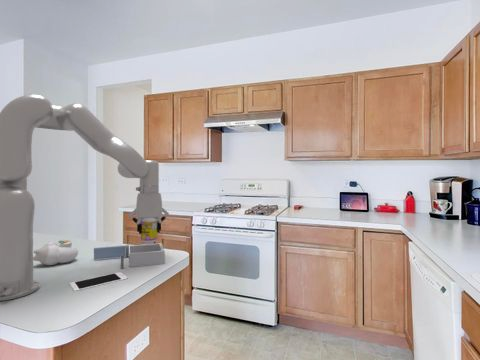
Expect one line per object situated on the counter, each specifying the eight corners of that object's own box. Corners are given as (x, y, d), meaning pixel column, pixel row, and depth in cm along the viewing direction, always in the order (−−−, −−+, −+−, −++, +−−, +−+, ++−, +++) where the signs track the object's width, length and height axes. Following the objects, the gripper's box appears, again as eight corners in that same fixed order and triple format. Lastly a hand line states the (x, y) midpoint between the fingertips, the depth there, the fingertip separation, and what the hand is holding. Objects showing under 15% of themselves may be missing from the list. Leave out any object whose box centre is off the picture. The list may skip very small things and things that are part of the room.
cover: (128, 257, 117) (128, 245, 117) (93, 260, 112) (93, 248, 112) (128, 256, 118) (128, 244, 118) (94, 259, 113) (94, 247, 113)
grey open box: (164, 264, 109) (164, 251, 109) (120, 268, 103) (120, 255, 103) (161, 254, 122) (161, 243, 122) (122, 257, 116) (122, 246, 116)
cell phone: (128, 279, 94) (128, 277, 94) (74, 292, 83) (74, 290, 83) (120, 273, 99) (120, 271, 99) (69, 284, 89) (69, 282, 89)
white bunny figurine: (79, 236, 114) (35, 237, 104) (82, 250, 108) (35, 252, 99) (74, 253, 117) (30, 256, 107) (76, 267, 112) (31, 271, 102)
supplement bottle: (137, 242, 112) (137, 211, 112) (149, 238, 118) (149, 209, 118) (148, 244, 109) (149, 212, 109) (160, 240, 115) (161, 210, 115)
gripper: (126, 191, 107) (126, 236, 107) (171, 190, 113) (171, 233, 113) (126, 189, 114) (126, 232, 114) (169, 189, 120) (169, 229, 120)
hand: (149, 232), depth 114 cm, fingers closed on supplement bottle, 6 cm apart
